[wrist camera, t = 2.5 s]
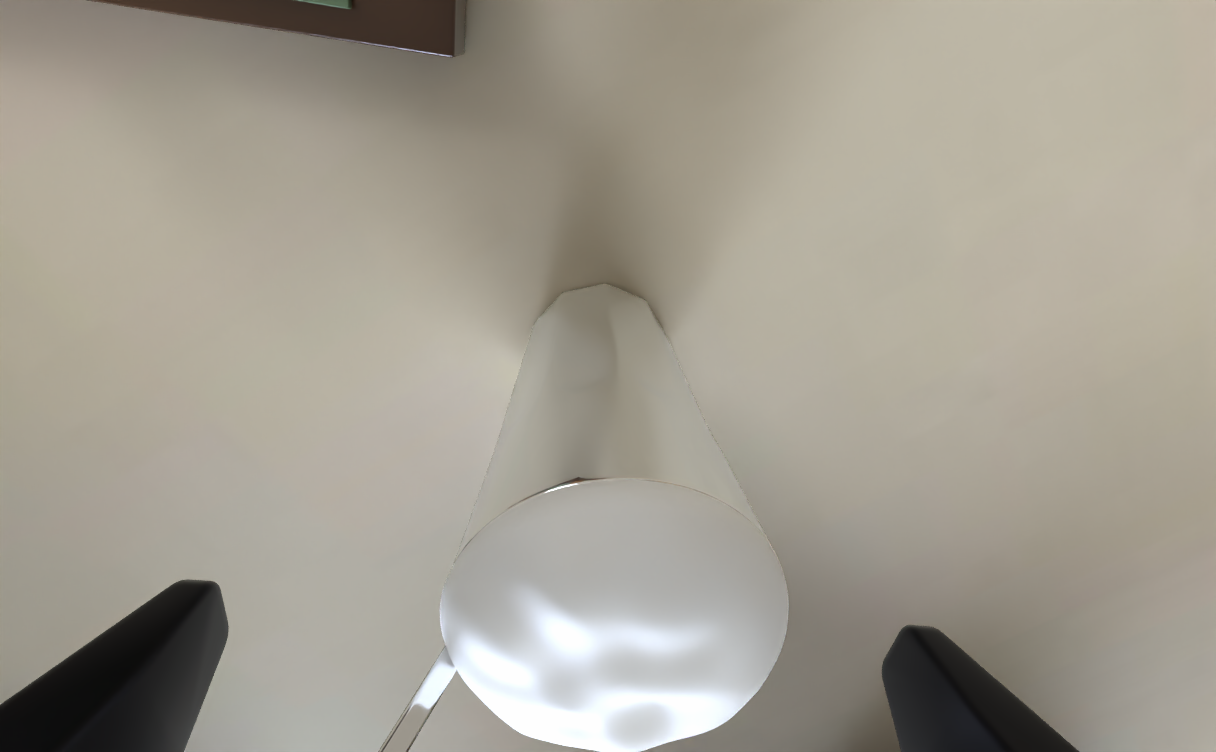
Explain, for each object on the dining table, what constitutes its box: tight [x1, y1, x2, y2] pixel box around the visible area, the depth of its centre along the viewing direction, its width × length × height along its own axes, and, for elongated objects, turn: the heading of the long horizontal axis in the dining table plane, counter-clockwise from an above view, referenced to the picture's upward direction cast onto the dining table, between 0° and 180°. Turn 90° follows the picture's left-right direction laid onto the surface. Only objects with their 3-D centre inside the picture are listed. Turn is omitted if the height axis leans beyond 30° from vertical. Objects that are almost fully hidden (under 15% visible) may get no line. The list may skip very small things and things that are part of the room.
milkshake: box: [378, 283, 789, 752], centre depth 11 cm, size 5×5×10 cm
